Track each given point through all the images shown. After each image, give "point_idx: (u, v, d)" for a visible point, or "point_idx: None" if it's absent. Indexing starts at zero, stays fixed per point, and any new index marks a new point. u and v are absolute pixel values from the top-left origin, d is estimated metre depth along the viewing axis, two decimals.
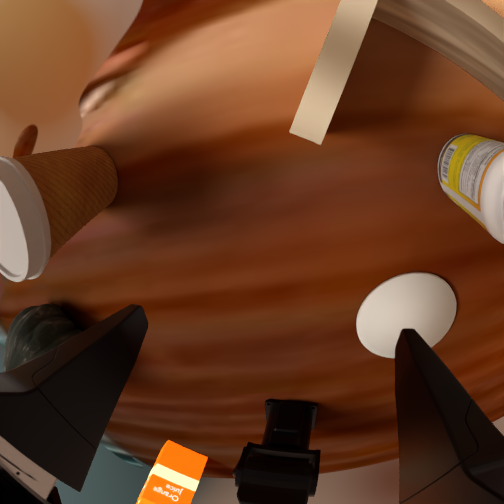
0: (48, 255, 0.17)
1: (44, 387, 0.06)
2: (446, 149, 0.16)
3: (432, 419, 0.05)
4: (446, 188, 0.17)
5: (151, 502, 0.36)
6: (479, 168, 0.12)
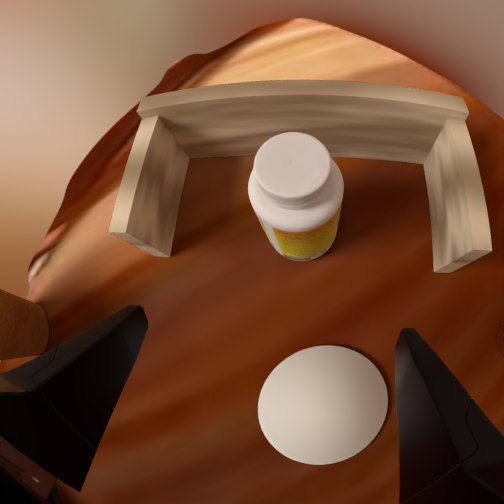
0: None
1: (43, 387, 0.06)
2: None
3: (432, 419, 0.05)
4: (276, 248, 0.22)
5: None
6: None
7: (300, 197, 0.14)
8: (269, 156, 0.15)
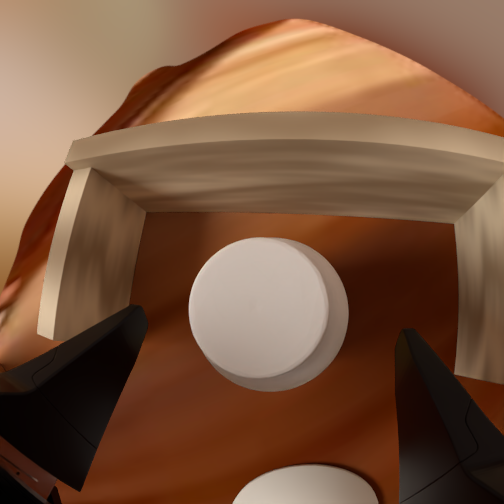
0: None
1: (43, 387, 0.06)
2: None
3: (432, 419, 0.05)
4: None
5: None
6: None
7: (267, 378, 0.07)
8: (216, 290, 0.08)
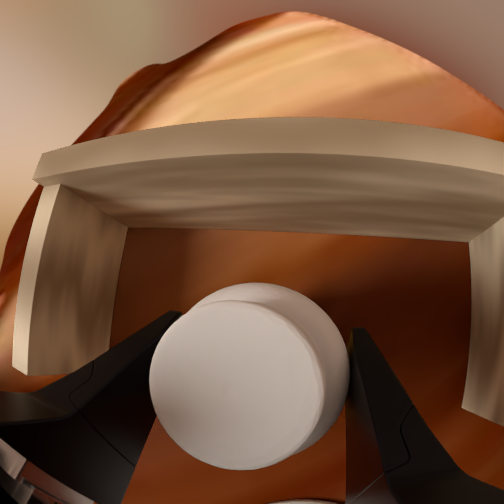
0: None
1: (84, 408, 0.06)
2: None
3: (367, 423, 0.05)
4: None
5: None
6: None
7: (245, 469, 0.05)
8: (180, 367, 0.06)
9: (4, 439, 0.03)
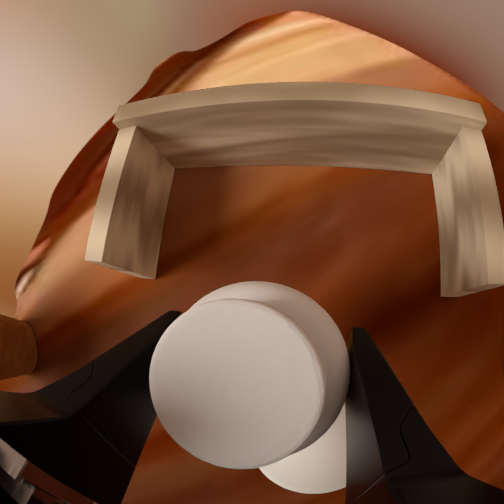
0: None
1: (84, 408, 0.06)
2: None
3: (367, 423, 0.05)
4: None
5: None
6: None
7: (245, 468, 0.05)
8: (180, 365, 0.06)
9: (4, 439, 0.03)
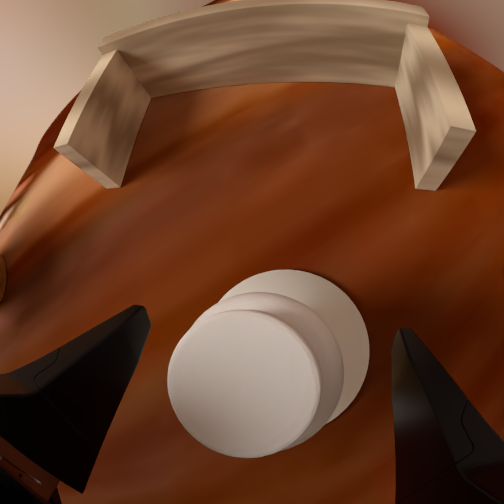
0: None
1: (46, 389, 0.06)
2: None
3: (428, 419, 0.05)
4: None
5: None
6: None
7: (252, 456, 0.06)
8: (195, 368, 0.07)
9: None
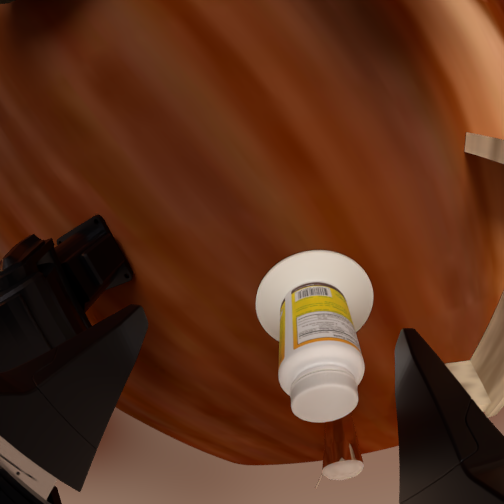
0: None
1: (43, 387, 0.06)
2: (322, 286, 0.22)
3: (432, 419, 0.05)
4: (289, 300, 0.22)
5: None
6: (328, 331, 0.17)
7: (291, 408, 0.15)
8: (335, 394, 0.14)
9: None
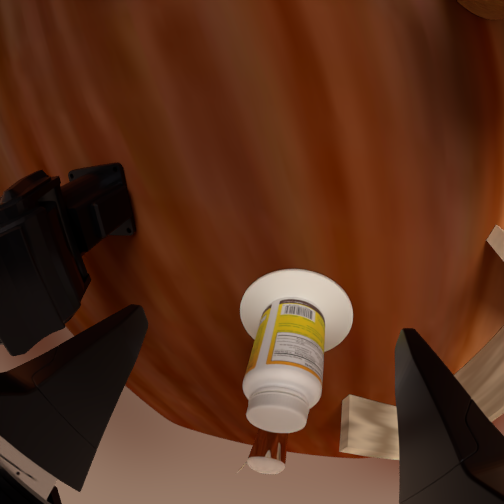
0: None
1: (44, 387, 0.06)
2: (310, 307, 0.23)
3: (432, 419, 0.05)
4: (275, 309, 0.23)
5: None
6: (301, 358, 0.18)
7: (246, 413, 0.17)
8: (288, 416, 0.16)
9: None
